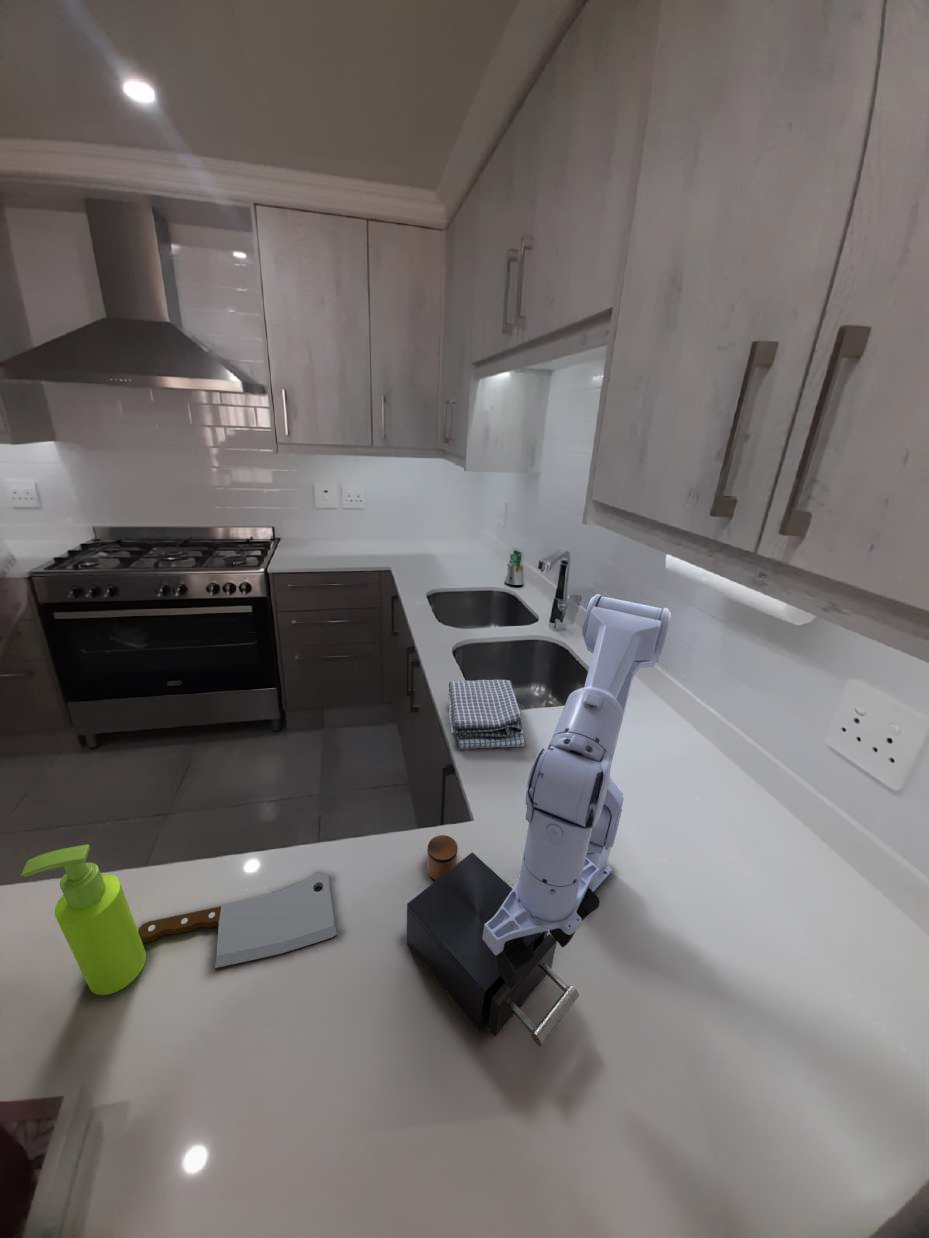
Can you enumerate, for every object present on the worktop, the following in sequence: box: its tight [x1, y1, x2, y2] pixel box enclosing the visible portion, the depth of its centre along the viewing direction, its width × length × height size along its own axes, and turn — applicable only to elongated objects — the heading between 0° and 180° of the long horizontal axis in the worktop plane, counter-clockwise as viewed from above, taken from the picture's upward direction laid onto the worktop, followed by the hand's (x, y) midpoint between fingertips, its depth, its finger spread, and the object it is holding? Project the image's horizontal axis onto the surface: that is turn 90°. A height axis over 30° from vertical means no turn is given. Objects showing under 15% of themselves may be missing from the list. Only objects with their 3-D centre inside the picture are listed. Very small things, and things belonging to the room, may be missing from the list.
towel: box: [448, 679, 526, 750], centre depth 106 cm, size 15×18×8 cm
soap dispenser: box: [20, 843, 147, 996], centre depth 55 cm, size 6×7×20 cm
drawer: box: [487, 933, 580, 1047], centre depth 59 cm, size 17×10×6 cm, turn 44°
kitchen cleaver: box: [138, 871, 338, 969], centre depth 64 cm, size 24×1×10 cm
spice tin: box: [426, 834, 459, 881], centre depth 73 cm, size 4×4×4 cm
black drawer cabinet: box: [406, 851, 549, 1033], centre depth 62 cm, size 14×12×8 cm
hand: (533, 957), depth 52 cm, fingers open, 7 cm apart
